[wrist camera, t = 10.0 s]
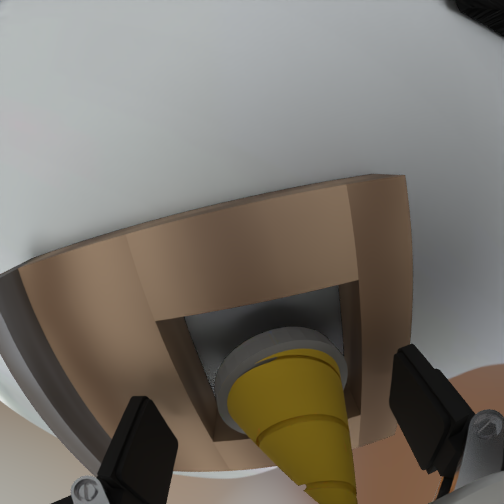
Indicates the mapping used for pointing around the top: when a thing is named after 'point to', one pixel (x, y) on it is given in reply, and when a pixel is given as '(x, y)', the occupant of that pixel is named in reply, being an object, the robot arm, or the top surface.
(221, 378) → the drill bit
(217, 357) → the top surface
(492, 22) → the cpu cooler
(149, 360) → the jig
